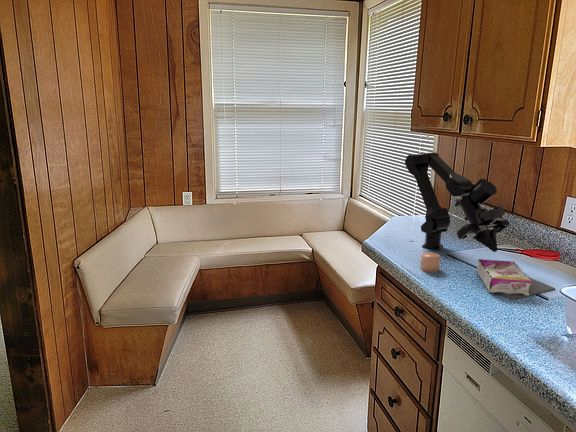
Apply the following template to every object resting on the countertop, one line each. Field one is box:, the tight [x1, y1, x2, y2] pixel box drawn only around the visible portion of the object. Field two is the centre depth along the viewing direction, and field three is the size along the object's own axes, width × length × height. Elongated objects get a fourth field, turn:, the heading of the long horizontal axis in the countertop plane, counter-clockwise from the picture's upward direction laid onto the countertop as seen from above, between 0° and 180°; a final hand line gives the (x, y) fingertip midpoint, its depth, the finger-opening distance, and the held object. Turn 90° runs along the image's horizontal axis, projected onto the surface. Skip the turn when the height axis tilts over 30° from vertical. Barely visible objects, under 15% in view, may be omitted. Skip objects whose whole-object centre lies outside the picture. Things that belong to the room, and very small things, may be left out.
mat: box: [483, 276, 556, 301], centre depth 127 cm, size 10×18×1 cm, turn 113°
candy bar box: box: [476, 258, 532, 297], centre depth 129 cm, size 11×5×16 cm
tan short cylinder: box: [420, 251, 441, 273], centre depth 142 cm, size 6×6×5 cm
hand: (495, 251), depth 137 cm, fingers closed
